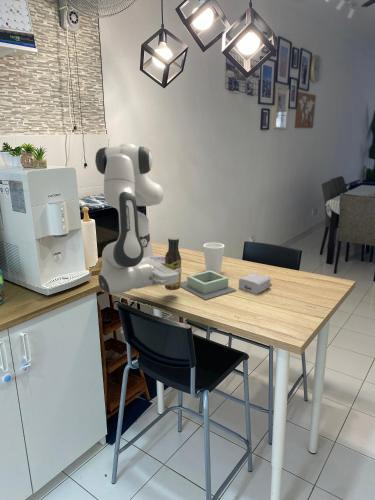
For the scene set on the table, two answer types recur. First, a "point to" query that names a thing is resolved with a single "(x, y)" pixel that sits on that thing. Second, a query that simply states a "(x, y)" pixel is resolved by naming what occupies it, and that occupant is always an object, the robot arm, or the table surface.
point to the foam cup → (213, 256)
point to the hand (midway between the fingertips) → (175, 267)
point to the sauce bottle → (173, 261)
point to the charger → (254, 283)
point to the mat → (207, 295)
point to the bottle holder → (214, 284)
